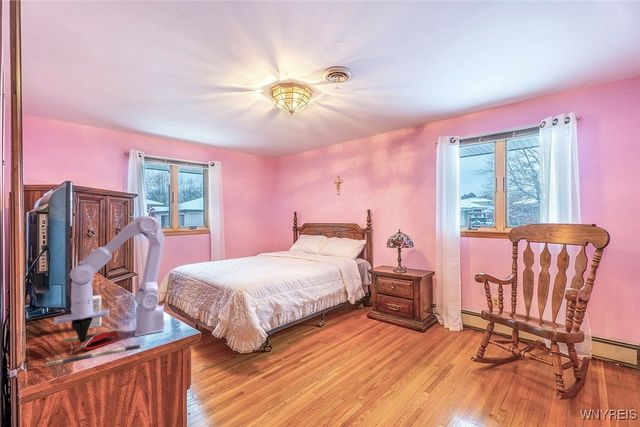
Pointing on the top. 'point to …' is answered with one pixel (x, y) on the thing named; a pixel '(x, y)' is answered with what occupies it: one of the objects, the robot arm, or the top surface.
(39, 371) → the top surface
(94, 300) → the ink box
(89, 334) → the track
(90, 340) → the tracker holder
